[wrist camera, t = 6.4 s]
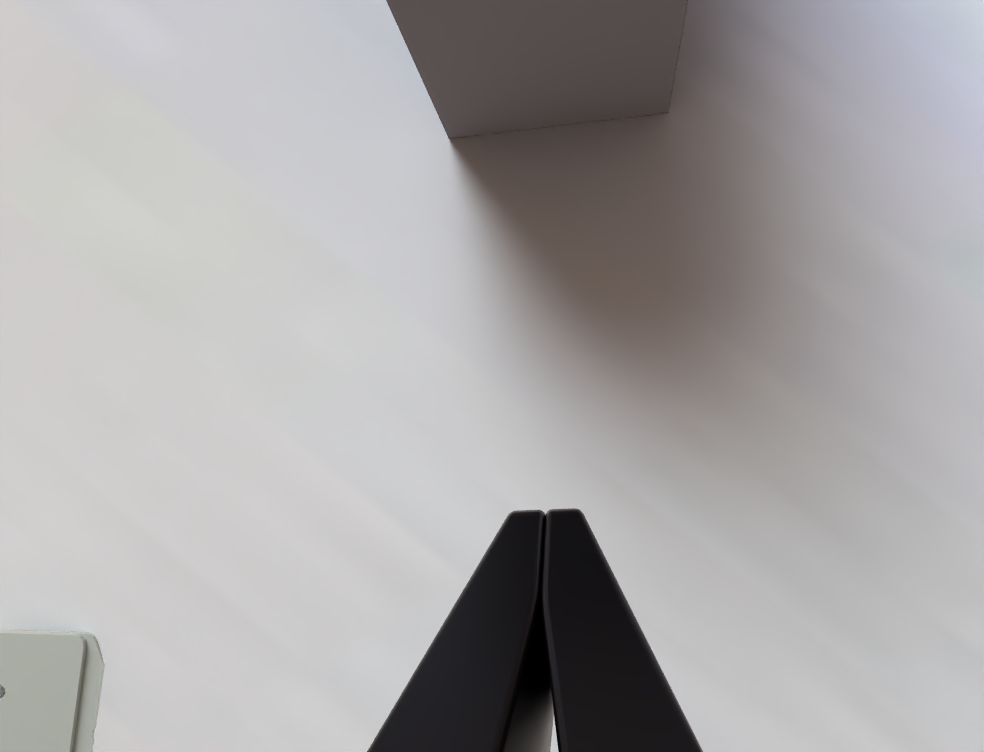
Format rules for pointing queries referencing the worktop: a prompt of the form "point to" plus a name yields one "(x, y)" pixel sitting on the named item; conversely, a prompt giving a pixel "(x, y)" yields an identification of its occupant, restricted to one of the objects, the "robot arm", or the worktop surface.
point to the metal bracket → (49, 690)
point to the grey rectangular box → (542, 60)
